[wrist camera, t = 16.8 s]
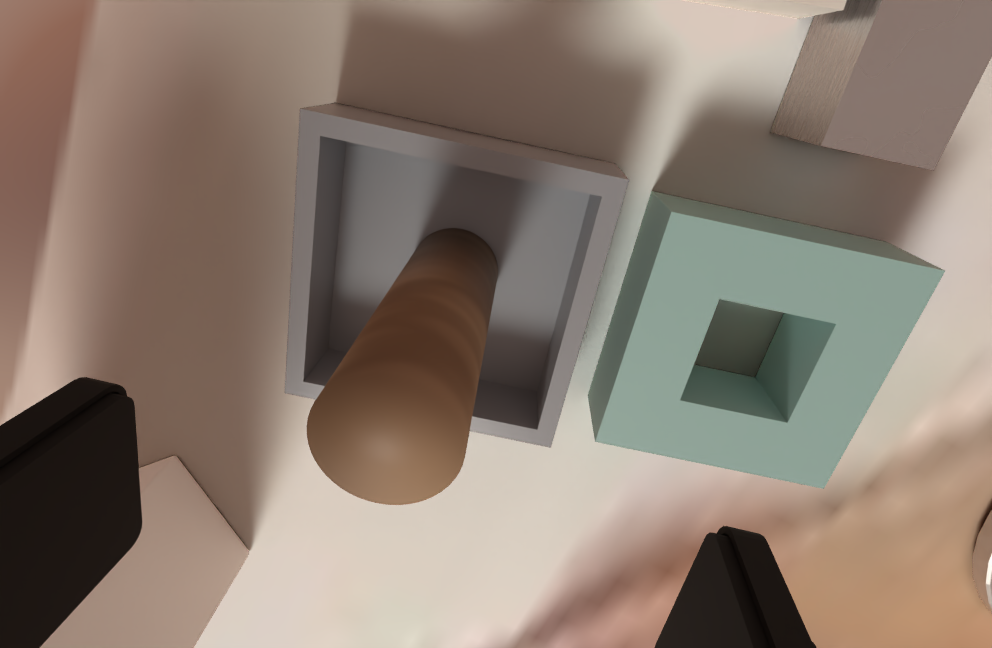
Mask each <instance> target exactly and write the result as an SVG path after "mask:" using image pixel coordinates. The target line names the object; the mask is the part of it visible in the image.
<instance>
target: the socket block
mask: <svg viewBox="0 0 992 648" xmlns="http://www.w3.org/2000/svg"><path fill="white" fill-rule="evenodd" d="M944 272H945V270H943V269H941V268H938V267H936V266H934V265H932V264H930V263H928V262H926V261H924V260H922V259H920V258H918V257H916V256H914V255H912V254H910V253H908V252H906V251H904V250H902V249H900V248H898V247H896V246H894V245H892V244H890V243H888V242H885V241H880V240H875V239H871V238H866V237H862V236H857V235H852V234H848V233H843V232H838V231H834V230H829V229H825V228H820V227H815V226H811V225H806V224H802V223H797V222H792V221H788V220H783V219H778V218H774V217H769V216H765V215H760V214H755V213H751V212H746V211H742V210H737V209H732V208H728V207H723V206H718V205H714V204H709V203H705V202H700V201H695V200H691V199H686V198H681V197H677V196H672V195H668V194H663V193H658V192H654V191H652V192H651V195H650V198H649V201H648V205H647V208H646V211H645V214H644V217H643V221H642V224H641V227H640V230H639V233H638V237H637V240H636V243H635V246H634V249H633V253H632V256H631V259H630V262H629V266H628V269H627V272H626V275H625V278H624V282H623V285H622V288H621V291H620V294H619V298H618V301H617V304H616V307H615V310H614V314H613V317H612V320H611V323H610V326H609V330H608V333H607V336H606V339H605V342H604V346H603V349H602V352H601V355H600V358H599V362H598V365H597V368H596V371H595V374H594V378H593V381H592V384H591V387H590V390H589V394H588V400H589V406H590V412H591V418H592V425H593V431H594V437H595V442H599V443H604V444H609V445H614V446H619V447H623V448H628V449H633V450H638V451H643V452H648V453H653V454H657V455H662V456H667V457H672V458H677V459H682V460H687V461H691V462H696V463H701V464H706V465H711V466H716V467H721V468H725V469H730V470H735V471H740V472H745V473H750V474H755V475H759V476H764V477H769V478H774V479H779V480H784V481H789V482H794V483H798V484H803V485H808V486H813V487H818V488H823V489H824V487H825V486H826V484H827V482H828V480H829V478H830V477H831V475H832V473H833V471H834V470H835V468H836V466H837V464H838V462H839V461H840V459H841V457H842V455H843V453H844V452H845V450H846V448H847V446H848V444H849V443H850V441H851V439H852V437H853V435H854V434H855V432H856V430H857V428H858V426H859V425H860V423H861V421H862V419H863V418H864V416H865V414H866V412H867V410H868V409H869V407H870V405H871V403H872V401H873V400H874V398H875V396H876V394H877V392H878V391H879V389H880V387H881V385H882V383H883V382H884V380H885V378H886V376H887V374H888V373H889V371H890V369H891V367H892V365H893V364H894V362H895V360H896V358H897V357H898V355H899V353H900V351H901V349H902V348H903V346H904V344H905V342H906V340H907V339H908V337H909V335H910V333H911V331H912V330H913V328H914V326H915V324H916V322H917V321H918V319H919V317H920V315H921V313H922V312H923V310H924V308H925V306H926V305H927V303H928V301H929V299H930V297H931V296H932V294H933V292H934V290H935V288H936V287H937V285H938V283H939V281H940V279H941V278H942V276H943V274H944ZM719 299H721V300H726V301H731V302H735V303H740V304H745V305H750V306H754V307H759V308H764V309H768V310H773V311H778V312H782V313H784V314H783V317H782V319H781V321H780V323H779V326H778V328H777V330H776V332H775V334H774V337H773V339H772V341H771V343H770V346H769V348H768V350H767V352H766V355H765V357H764V359H763V361H762V364H761V366H760V368H759V370H758V372H757V375H756V377H750V376H746V375H741V374H736V373H731V372H727V371H722V370H717V369H712V368H708V367H703V366H698V365H694V363H695V360H696V358H697V355H698V353H699V350H700V348H701V345H702V343H703V340H704V338H705V335H706V332H707V330H708V327H709V325H710V322H711V320H712V317H713V315H714V312H715V309H716V307H717V304H718V302H719Z"/></svg>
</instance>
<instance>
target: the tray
mask: <svg viewBox="0 0 992 648" xmlns="http://www.w3.org/2000/svg"><path fill="white" fill-rule="evenodd" d="M628 182H629V179H628V178H627V177H626V176H625V174H624V173H623V172H622V171H621V170H620V168H619V167H618V166H617V165H616V164H615V163H610V162H605V161H601V160H596V159H592V158H587V157H582V156H578V155H573V154H569V153H564V152H559V151H555V150H550V149H546V148H541V147H536V146H532V145H527V144H523V143H518V142H514V141H509V140H504V139H500V138H495V137H491V136H486V135H481V134H477V133H472V132H468V131H463V130H458V129H454V128H449V127H445V126H440V125H435V124H431V123H426V122H422V121H417V120H412V119H408V118H403V117H399V116H394V115H389V114H385V113H380V112H376V111H371V110H366V109H362V108H357V107H353V106H348V105H343V104H339V103H331V104H325V105H319V106H313V107H307V108H300V120H299V139H298V157H297V176H296V194H295V213H294V231H293V250H292V268H291V287H290V305H289V324H288V342H287V361H286V379H285V393H287V394H291V395H296V396H301V397H306V398H311V399H317V397H318V396H319V394H320V393H321V391H322V390H323V388H324V387H325V385H326V384H327V382H328V381H329V379H330V378H331V376H332V375H333V373H334V372H335V370H336V369H337V367H338V366H339V364H340V363H341V361H342V360H343V358H344V357H345V355H346V354H347V352H348V351H349V349H350V348H351V346H352V345H353V343H354V342H355V340H356V339H357V337H358V336H359V334H360V333H361V331H362V330H363V328H364V327H365V325H366V324H367V322H368V321H369V319H370V318H371V316H372V315H373V313H374V312H375V310H376V309H377V307H378V306H379V304H380V303H381V301H382V300H383V298H384V297H385V295H386V294H387V292H388V291H389V289H390V288H391V286H392V285H393V283H394V282H395V280H396V279H397V277H398V276H399V274H400V273H401V271H402V270H403V268H404V267H405V265H406V264H407V262H408V261H409V259H410V258H411V256H412V255H413V253H414V252H415V250H416V249H417V247H418V246H419V244H420V243H421V242H422V241H423V240H424V239H425V238H426V237H427V236H428V235H430V234H432V233H433V232H436V231H438V230H442V229H447V228H459V229H464V230H467V231H470V232H472V233H474V234H476V235H478V236H479V237H481V238H482V239H483V240H484V241H485V242H486V243H487V244H488V245H489V246H490V248H491V249H492V251H493V253H494V255H495V257H496V261H497V266H498V277H497V283H496V289H495V294H494V300H493V305H492V311H491V316H490V321H489V327H488V332H487V338H486V343H485V349H484V354H483V360H482V365H481V371H480V376H479V382H478V387H477V393H476V398H475V404H474V409H473V415H472V420H471V426H470V431H472V432H477V433H482V434H486V435H491V436H496V437H501V438H506V439H511V440H516V441H521V442H525V443H530V444H535V445H540V446H545V447H550V448H551V445H552V441H553V438H554V434H555V431H556V428H557V424H558V421H559V417H560V414H561V411H562V407H563V404H564V400H565V397H566V393H567V390H568V387H569V383H570V380H571V376H572V373H573V370H574V366H575V363H576V359H577V356H578V353H579V349H580V346H581V342H582V339H583V336H584V332H585V329H586V325H587V322H588V319H589V315H590V312H591V308H592V305H593V302H594V298H595V295H596V291H597V288H598V284H599V281H600V278H601V274H602V271H603V267H604V264H605V261H606V257H607V254H608V250H609V247H610V244H611V240H612V237H613V233H614V230H615V227H616V223H617V220H618V216H619V213H620V210H621V206H622V203H623V199H624V196H625V193H626V189H627V186H628Z"/></svg>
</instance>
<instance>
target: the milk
mask: <svg viewBox="0 0 992 648" xmlns="http://www.w3.org/2000/svg"><path fill="white" fill-rule="evenodd" d="M139 480H140V495H141V509H142V529H141V532H140V535H139V537H138V539H137V541H136V542H135V544H134V545H133V547H132V548H131V549H130V550H129V551H128V552H127V553H126V554H125V555H124V557H123V558H122V559H121V560H120V561H119V562H118V563H117V564H116V565H115V566H114V567H113V568H112V570H111V571H110V572H109V573H108V574H107V575H106V576H105V577H104V578H103V579H102V580H101V582H100V583H99V584H98V585H97V586H96V587H95V588H94V589H93V590H92V591H91V592H90V594H89V595H88V596H87V597H86V598H85V599H84V600H83V601H82V602H81V603H80V604H79V605H78V607H77V608H76V609H75V610H74V611H73V612H72V613H71V614H70V615H69V616H68V617H67V619H66V620H65V621H64V622H63V623H62V624H61V625H60V626H59V627H58V628H57V629H56V630H55V632H54V633H53V634H52V635H51V636H50V637H49V638H48V639H47V640H46V641H45V642H44V644H43V645H42V646H41V647H40V648H194V646H195V645H196V643H197V641H198V640H199V638H200V636H201V634H202V633H203V631H204V629H205V628H206V626H207V624H208V623H209V621H210V619H211V618H212V616H213V614H214V613H215V611H216V609H217V607H218V606H219V604H220V602H221V601H222V599H223V597H224V596H225V594H226V592H227V591H228V589H229V587H230V586H231V584H232V582H233V580H234V579H235V577H236V575H237V574H238V572H239V570H240V569H241V567H242V565H243V564H244V562H245V560H246V558H247V557H248V555H249V550H248V549H247V548H246V546H245V545H244V544H243V542H242V541H241V540H240V538H239V537H238V536H237V535H236V533H235V532H234V531H233V529H232V528H231V527H230V525H229V524H228V523H227V521H226V520H225V519H224V518H223V516H222V515H221V514H220V512H219V511H218V510H217V508H216V507H215V506H214V504H213V503H212V502H211V501H210V499H209V498H208V497H207V495H206V494H205V493H204V491H203V490H202V489H201V487H200V486H199V485H198V483H197V482H196V481H195V480H194V478H193V477H192V476H191V474H190V473H189V472H188V470H187V469H186V468H185V466H184V465H183V464H182V463H181V461H180V460H179V459H178V457H177V456H171V457H169V458H166V459H163V460H160V461H157V462H155V463H152V464H149V465H146V466H144V467H141V468H139Z"/></svg>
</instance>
